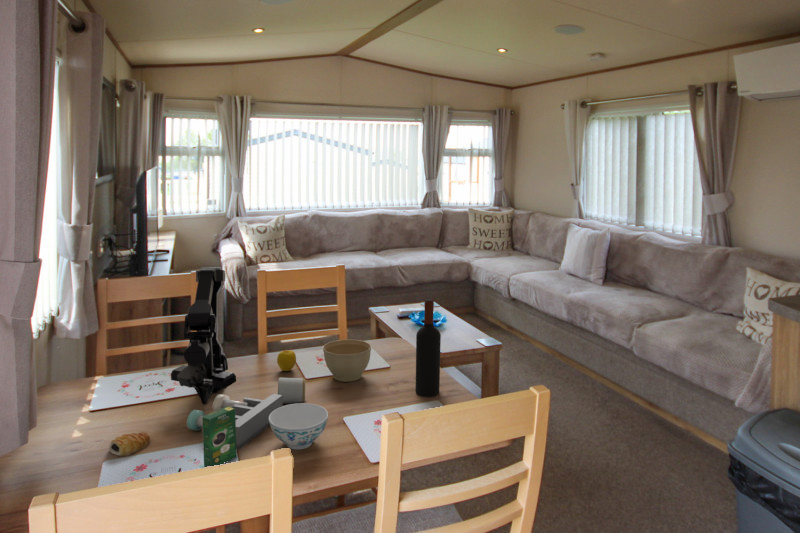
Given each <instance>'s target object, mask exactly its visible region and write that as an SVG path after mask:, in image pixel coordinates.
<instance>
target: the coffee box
mask: <svg viewBox="0 0 800 533" xmlns="http://www.w3.org/2000/svg"><path fill="white" fill-rule="evenodd" d="M205 415H206V416H203V417H202V422H203V427H202V443H203V444H202V445H203V448H202V449H203V468H204V467H207V466H214V465H220V464H223V465H225V464H227V463H228V462H231V461H232V460H234V459H235V458H237V457H238V456H237V455H238V454H237V449H236V421H235V408H232V407H229V406H227V407H225V408H222V409H220V410H218V411H215V412H214V411H213V412H211V413H208V414H205ZM227 461H228V462H227ZM224 462H225V464H224Z"/></svg>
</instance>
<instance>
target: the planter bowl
mask: <svg viewBox="0 0 800 533" xmlns="http://www.w3.org/2000/svg"><path fill="white" fill-rule="evenodd" d="M322 350H323V358H324V361H325V364H326V367H327V368H328V370H329V372H330V373H331V374H332V376H333V379H334V380H336V381H338V382H344V383H345V382H346V383H347V382H354V381H355V382H356V381H359V380H360V379H361V378H362V375H363V373H364V372H365V370H366V369H367V368H368V366H369V365H368V364H369V362H370V360H371V359H370V358H371V350H372V345H371V344H370V343H369V342H367V341H364V340H360V339H339V340H333V341H329V342H327V343H326V344H324V345H323V346H322Z"/></svg>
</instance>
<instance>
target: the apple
mask: <svg viewBox="0 0 800 533" xmlns="http://www.w3.org/2000/svg"><path fill="white" fill-rule="evenodd" d="M276 362H277V365H278V367H279V369H280V370H281V371H283V372H289V371H291V370H292V369H293V368H294V367H295V365H296V362H297V355H296V353H295V351H293V350H290V349H289V350H284V349H283V350H281V351H280V352H279V353H278V355H277V358H276Z"/></svg>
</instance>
